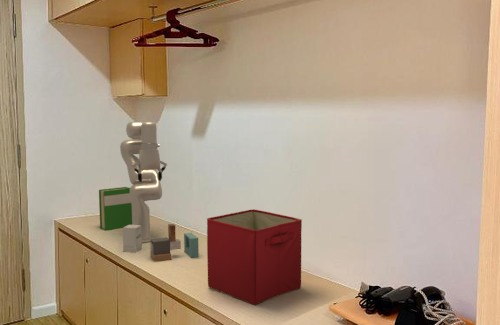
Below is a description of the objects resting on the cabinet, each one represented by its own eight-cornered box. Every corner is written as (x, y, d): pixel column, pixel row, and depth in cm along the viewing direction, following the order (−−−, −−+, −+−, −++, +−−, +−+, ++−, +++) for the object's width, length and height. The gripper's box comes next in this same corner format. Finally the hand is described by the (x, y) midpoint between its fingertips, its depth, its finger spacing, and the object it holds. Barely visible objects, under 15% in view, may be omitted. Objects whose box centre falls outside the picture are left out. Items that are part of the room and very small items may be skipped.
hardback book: (105, 230, 309) (103, 191, 306) (100, 228, 314) (98, 189, 312) (132, 226, 320) (131, 188, 317) (126, 224, 326) (125, 186, 323)
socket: (184, 251, 262) (184, 233, 261) (191, 251, 263) (191, 232, 262) (191, 258, 251) (190, 238, 250) (198, 257, 252) (198, 237, 251)
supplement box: (136, 252, 261) (135, 228, 260) (122, 251, 263) (122, 227, 262) (142, 248, 269) (141, 224, 267) (129, 248, 270) (128, 224, 269)
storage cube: (306, 289, 207) (307, 218, 204) (259, 308, 188) (259, 230, 185) (249, 271, 230) (249, 207, 227) (202, 287, 210) (201, 217, 207)
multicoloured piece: (150, 250, 251) (149, 225, 250) (178, 246, 256) (178, 223, 255) (152, 252, 247) (151, 227, 246) (180, 248, 253) (180, 224, 252)
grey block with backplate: (150, 256, 254) (150, 238, 253) (166, 254, 257) (166, 236, 256) (154, 261, 245) (154, 242, 244) (171, 259, 248) (171, 241, 247)
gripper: (164, 146, 264) (165, 179, 266) (130, 147, 258) (131, 181, 259) (168, 146, 257) (168, 180, 259) (132, 147, 251) (134, 182, 252)
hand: (150, 180), depth 259 cm, fingers open, 9 cm apart
